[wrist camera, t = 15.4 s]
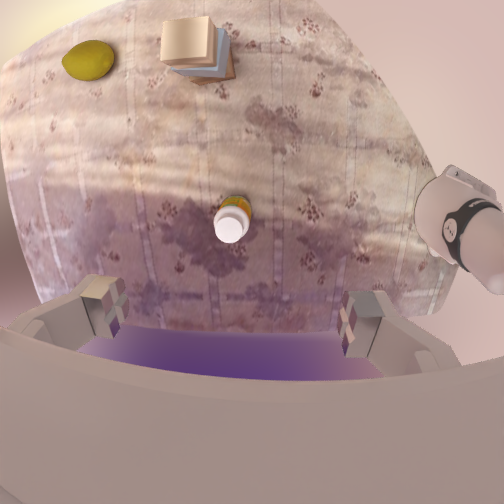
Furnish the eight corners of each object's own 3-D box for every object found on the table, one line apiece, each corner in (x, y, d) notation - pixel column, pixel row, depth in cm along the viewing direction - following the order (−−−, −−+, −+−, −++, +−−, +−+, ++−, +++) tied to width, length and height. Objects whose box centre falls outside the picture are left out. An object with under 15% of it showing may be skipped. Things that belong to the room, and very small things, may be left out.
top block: (230, 40, 32) (224, 28, 27) (225, 77, 35) (217, 70, 29) (190, 39, 32) (177, 28, 27) (184, 76, 35) (170, 69, 29)
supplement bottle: (242, 189, 48) (236, 205, 39) (257, 216, 50) (254, 238, 41) (215, 203, 49) (203, 222, 40) (230, 229, 51) (222, 253, 42)
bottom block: (230, 46, 37) (224, 36, 32) (235, 78, 40) (230, 72, 34) (194, 53, 38) (184, 45, 32) (199, 85, 40) (189, 80, 35)
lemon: (130, 50, 37) (108, 42, 30) (111, 88, 40) (87, 86, 33) (89, 39, 35) (65, 32, 28) (72, 74, 39) (47, 72, 31)
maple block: (218, 31, 27) (208, 16, 21) (216, 66, 29) (206, 56, 24) (179, 34, 27) (163, 21, 22) (177, 69, 29) (160, 60, 24)
